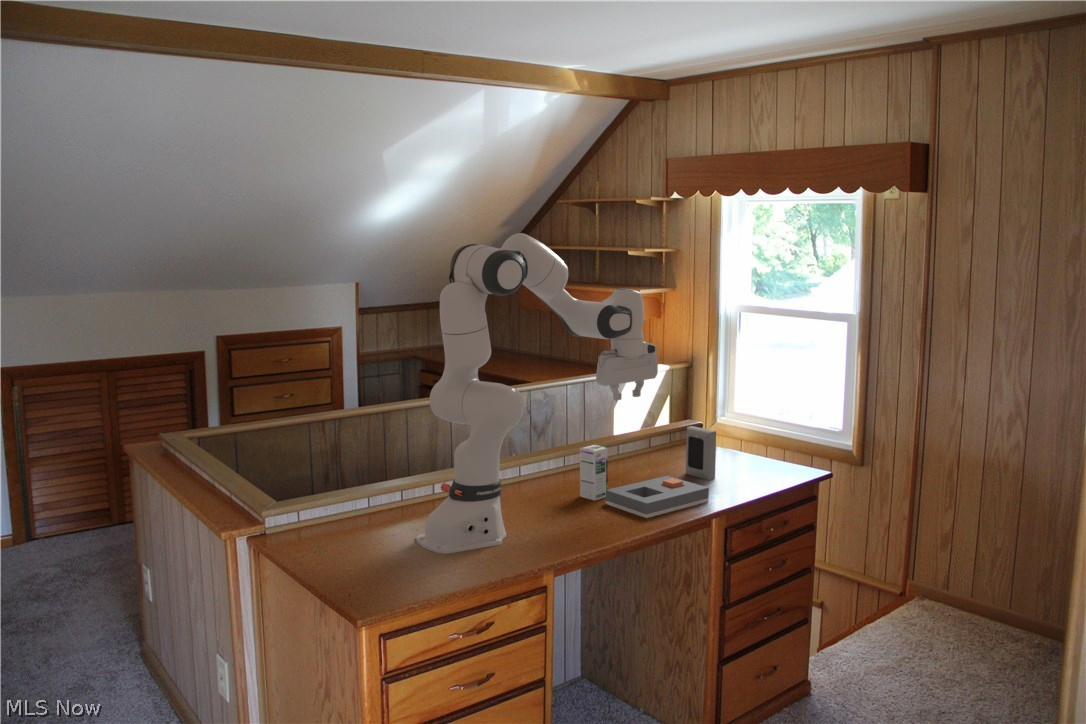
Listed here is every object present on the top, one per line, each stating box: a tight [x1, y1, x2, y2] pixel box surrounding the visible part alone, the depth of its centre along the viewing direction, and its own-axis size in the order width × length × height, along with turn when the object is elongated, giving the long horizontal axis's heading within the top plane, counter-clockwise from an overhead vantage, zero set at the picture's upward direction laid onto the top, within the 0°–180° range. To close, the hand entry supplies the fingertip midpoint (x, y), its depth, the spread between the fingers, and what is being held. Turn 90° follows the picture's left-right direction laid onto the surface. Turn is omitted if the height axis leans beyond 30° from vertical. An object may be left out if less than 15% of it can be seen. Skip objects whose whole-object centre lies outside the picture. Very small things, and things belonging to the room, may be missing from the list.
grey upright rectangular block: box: [685, 425, 717, 481], centre depth 279 cm, size 10×4×15 cm, turn 40°
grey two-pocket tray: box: [605, 475, 710, 519], centre depth 253 cm, size 24×16×4 cm, turn 128°
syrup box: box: [579, 444, 609, 501], centre depth 258 cm, size 6×6×14 cm
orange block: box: [663, 477, 683, 488], centre depth 257 cm, size 4×4×2 cm
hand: (627, 398), depth 250 cm, fingers open, 6 cm apart
